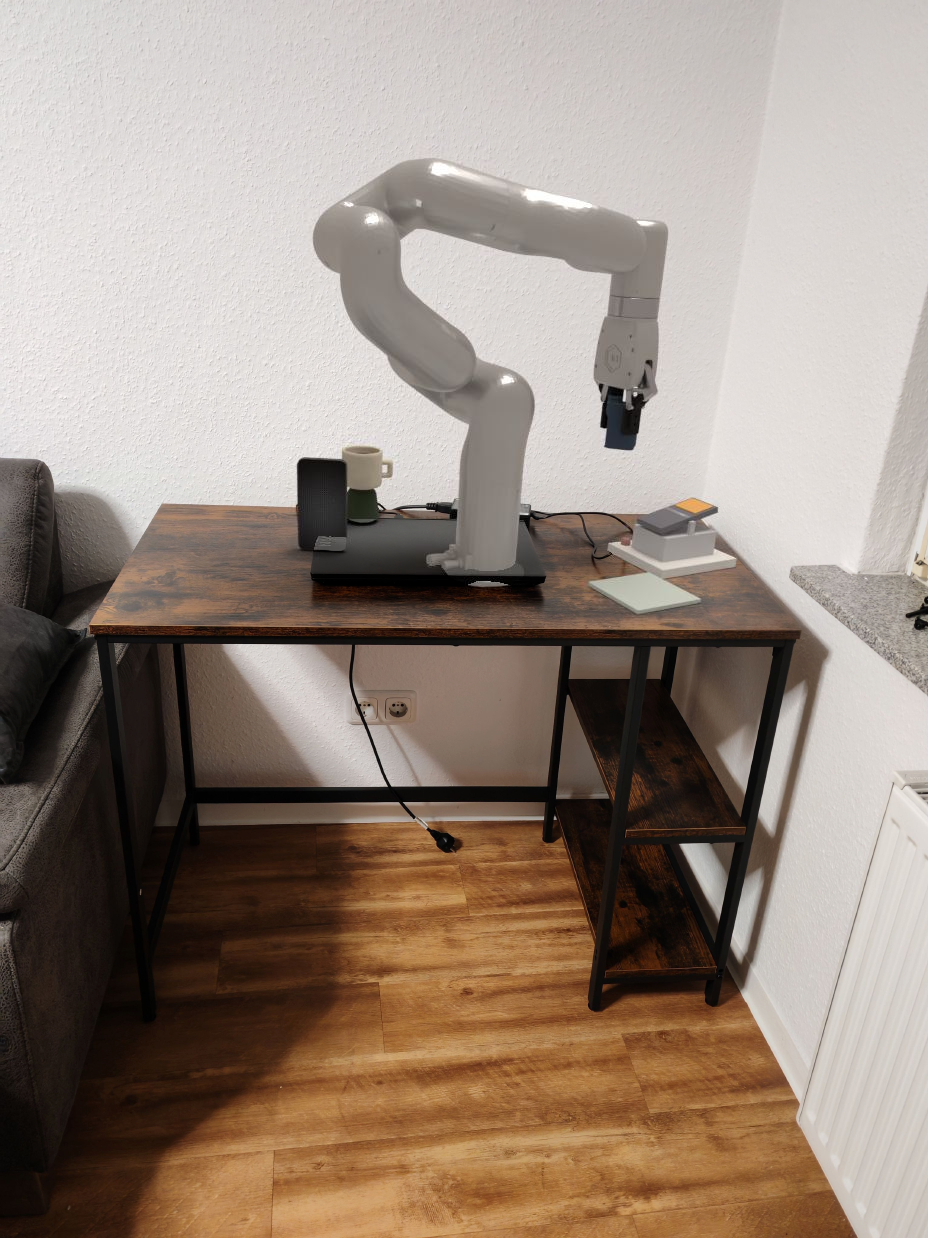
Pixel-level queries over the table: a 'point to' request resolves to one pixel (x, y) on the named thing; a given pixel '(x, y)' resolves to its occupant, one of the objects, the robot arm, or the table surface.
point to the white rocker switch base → (673, 551)
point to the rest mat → (644, 592)
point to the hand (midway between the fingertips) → (619, 429)
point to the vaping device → (617, 422)
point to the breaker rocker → (677, 515)
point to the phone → (321, 499)
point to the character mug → (364, 480)
